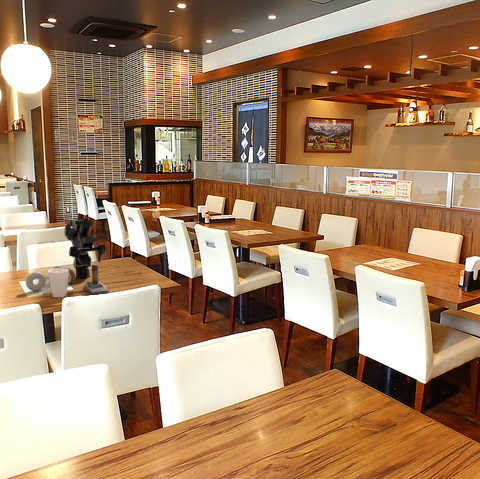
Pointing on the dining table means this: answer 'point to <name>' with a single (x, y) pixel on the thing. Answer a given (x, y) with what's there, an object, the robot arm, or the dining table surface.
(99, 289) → the rail base
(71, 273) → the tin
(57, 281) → the foam cup
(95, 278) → the slide handle
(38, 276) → the donut
